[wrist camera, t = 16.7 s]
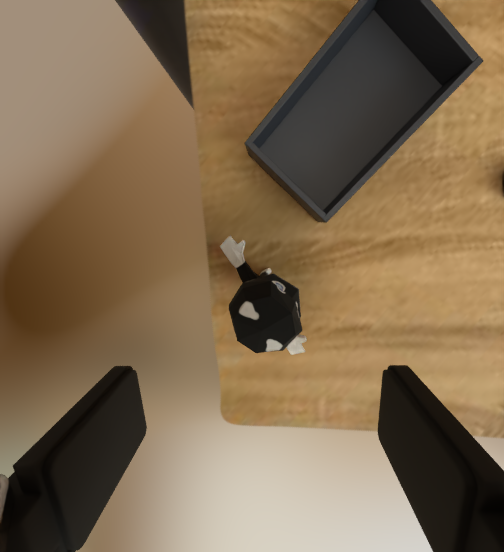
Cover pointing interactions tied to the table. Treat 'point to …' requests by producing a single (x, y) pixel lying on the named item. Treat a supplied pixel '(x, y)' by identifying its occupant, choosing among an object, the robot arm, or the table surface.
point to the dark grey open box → (360, 100)
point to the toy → (264, 307)
